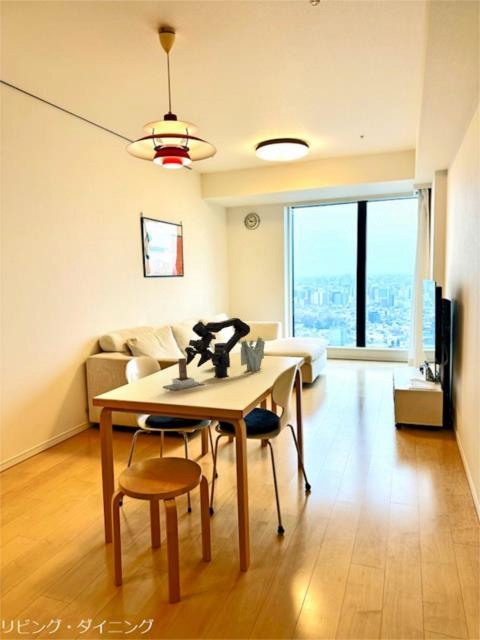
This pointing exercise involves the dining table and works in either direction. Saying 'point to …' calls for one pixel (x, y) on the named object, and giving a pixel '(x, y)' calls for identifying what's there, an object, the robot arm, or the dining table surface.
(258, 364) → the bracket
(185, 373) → the rail post
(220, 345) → the storage jar
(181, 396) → the dining table surface
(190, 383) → the grey stand base
